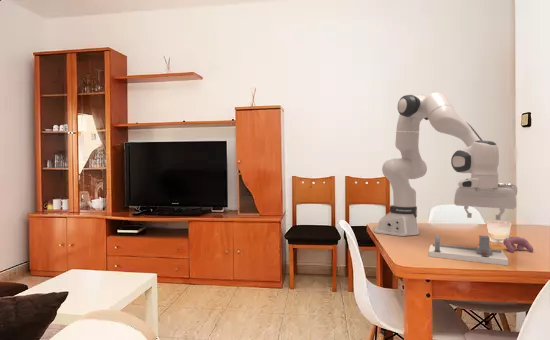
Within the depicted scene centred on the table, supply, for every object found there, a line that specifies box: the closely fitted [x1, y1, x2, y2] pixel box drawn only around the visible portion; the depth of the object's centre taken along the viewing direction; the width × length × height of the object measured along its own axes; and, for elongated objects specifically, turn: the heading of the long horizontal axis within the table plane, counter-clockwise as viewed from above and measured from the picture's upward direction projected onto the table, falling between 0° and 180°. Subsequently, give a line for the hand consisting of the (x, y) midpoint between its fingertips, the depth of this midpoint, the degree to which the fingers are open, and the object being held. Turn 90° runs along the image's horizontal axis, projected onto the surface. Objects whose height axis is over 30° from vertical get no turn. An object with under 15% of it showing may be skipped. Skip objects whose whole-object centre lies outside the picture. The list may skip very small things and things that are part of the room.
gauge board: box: [428, 235, 509, 266], centre depth 133 cm, size 26×12×8 cm, turn 62°
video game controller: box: [502, 236, 534, 254], centre depth 141 cm, size 10×5×7 cm, turn 93°
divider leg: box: [475, 235, 492, 256], centre depth 129 cm, size 5×7×6 cm
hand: (483, 218), depth 130 cm, fingers open, 8 cm apart
